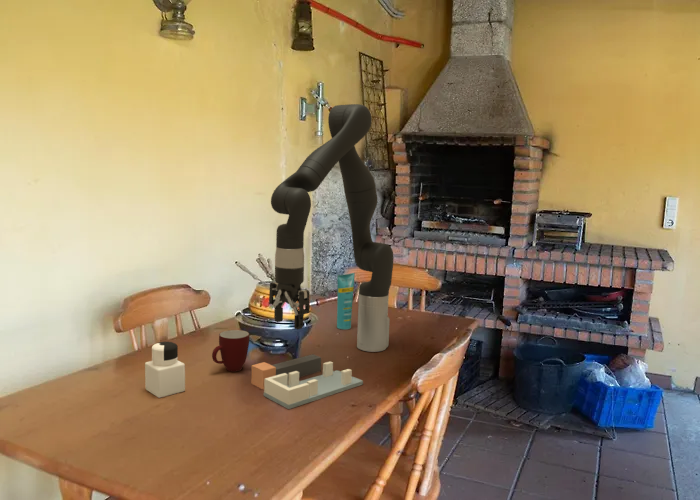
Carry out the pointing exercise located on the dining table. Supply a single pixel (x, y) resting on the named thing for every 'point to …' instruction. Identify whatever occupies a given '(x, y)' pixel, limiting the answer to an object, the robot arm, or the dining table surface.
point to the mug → (232, 349)
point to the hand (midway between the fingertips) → (288, 325)
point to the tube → (345, 300)
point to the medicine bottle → (164, 370)
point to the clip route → (308, 386)
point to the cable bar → (285, 368)
